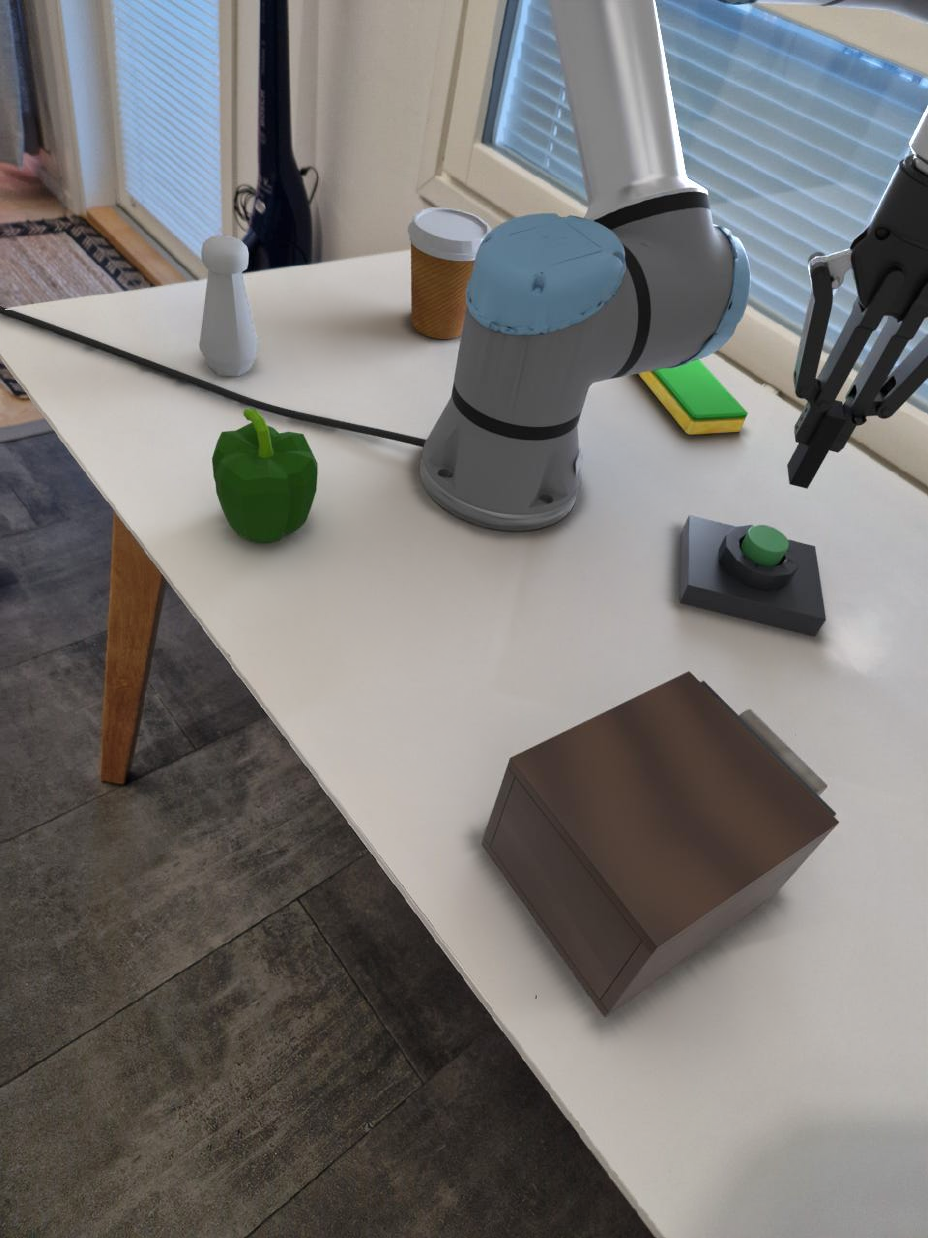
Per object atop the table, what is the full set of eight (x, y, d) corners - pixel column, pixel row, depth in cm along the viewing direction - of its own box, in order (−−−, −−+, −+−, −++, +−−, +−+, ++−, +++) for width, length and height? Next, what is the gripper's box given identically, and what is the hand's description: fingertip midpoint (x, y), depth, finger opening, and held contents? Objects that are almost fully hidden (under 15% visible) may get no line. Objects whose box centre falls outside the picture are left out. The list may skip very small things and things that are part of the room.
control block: (679, 603, 75) (695, 569, 72) (681, 532, 82) (695, 499, 79) (815, 637, 75) (836, 604, 72) (805, 563, 82) (824, 531, 79)
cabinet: (644, 756, 63) (689, 670, 56) (771, 899, 56) (839, 822, 49) (480, 843, 56) (509, 757, 49) (604, 1018, 49) (657, 947, 42)
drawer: (705, 727, 64) (745, 658, 59) (822, 849, 59) (879, 785, 53) (517, 828, 56) (543, 759, 50) (631, 982, 50) (676, 923, 45)
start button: (741, 561, 75) (749, 546, 73) (739, 535, 77) (747, 520, 76) (782, 571, 75) (790, 556, 73) (779, 545, 77) (787, 530, 76)
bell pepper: (323, 552, 72) (329, 454, 65) (221, 560, 70) (216, 458, 63) (306, 489, 78) (310, 392, 71) (211, 494, 75) (205, 394, 68)
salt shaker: (270, 367, 91) (270, 244, 81) (232, 388, 87) (227, 261, 78) (228, 345, 92) (223, 222, 83) (188, 365, 89) (178, 238, 79)
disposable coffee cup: (477, 352, 100) (496, 248, 91) (394, 339, 99) (406, 234, 90) (477, 313, 106) (495, 213, 98) (400, 301, 105) (411, 199, 97)
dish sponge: (683, 366, 105) (690, 348, 103) (741, 432, 97) (750, 413, 95) (632, 367, 103) (638, 349, 101) (687, 435, 94) (694, 416, 92)
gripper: (1050, 176, 56) (869, 470, 73) (853, 128, 56) (718, 432, 73) (1086, 219, 51) (882, 525, 68) (869, 165, 51) (719, 483, 68)
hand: (797, 476), depth 70 cm, fingers closed
